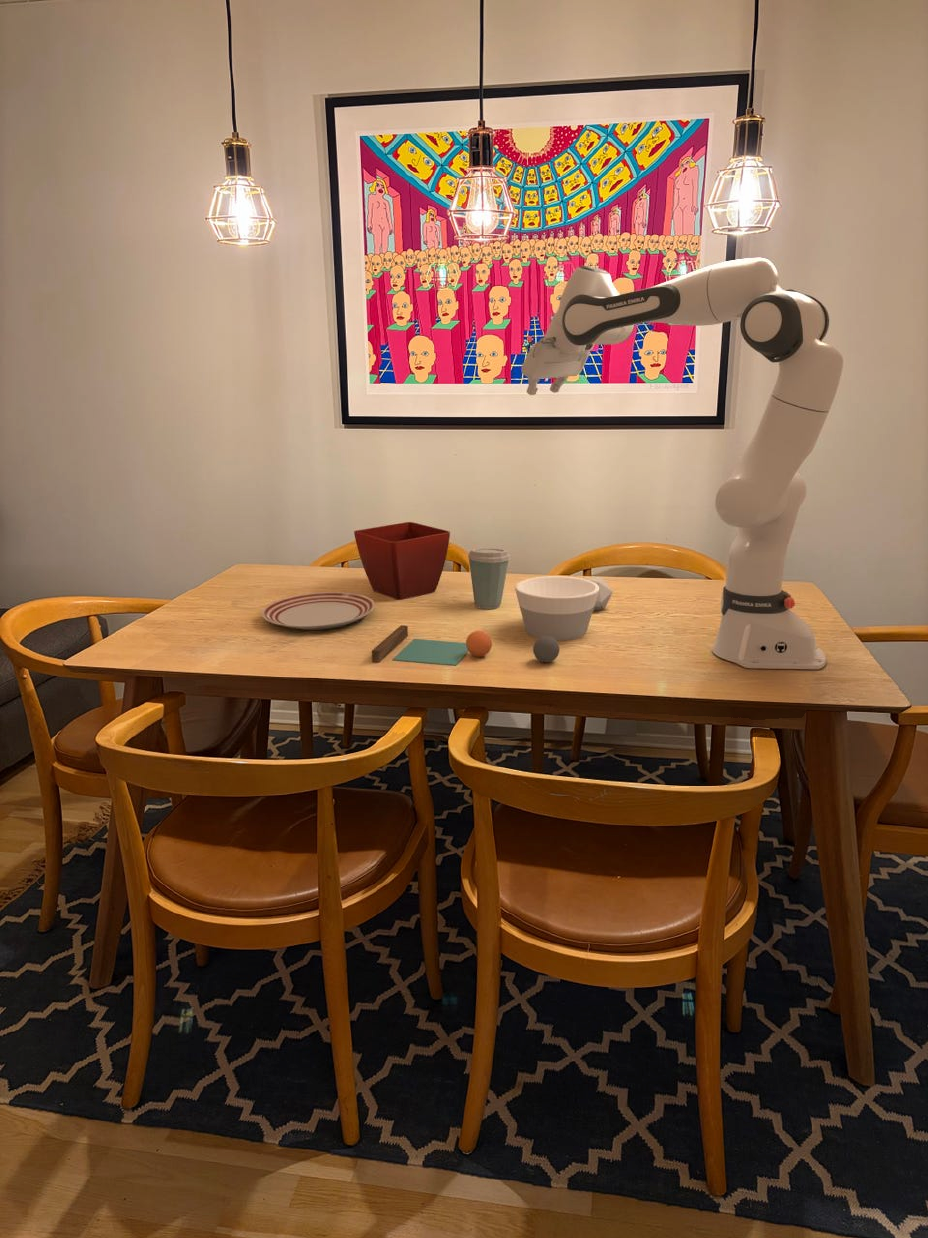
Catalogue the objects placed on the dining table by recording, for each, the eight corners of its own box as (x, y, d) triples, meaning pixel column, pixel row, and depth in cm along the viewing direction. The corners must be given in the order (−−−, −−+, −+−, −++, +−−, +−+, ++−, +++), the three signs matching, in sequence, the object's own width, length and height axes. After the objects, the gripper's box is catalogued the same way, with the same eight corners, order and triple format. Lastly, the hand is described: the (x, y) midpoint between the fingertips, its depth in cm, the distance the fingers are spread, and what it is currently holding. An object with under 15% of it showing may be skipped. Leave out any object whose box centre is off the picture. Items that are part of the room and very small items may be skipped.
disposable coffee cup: (466, 600, 220) (466, 544, 215) (507, 599, 220) (507, 543, 216) (469, 612, 210) (469, 553, 205) (512, 611, 210) (513, 552, 206)
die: (568, 610, 213) (577, 587, 205) (579, 587, 218) (588, 563, 210) (598, 623, 212) (609, 600, 204) (608, 600, 217) (619, 576, 209)
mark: (473, 644, 186) (473, 643, 186) (456, 665, 174) (456, 664, 174) (414, 639, 190) (414, 638, 190) (392, 660, 177) (392, 659, 177)
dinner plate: (309, 645, 188) (308, 630, 187) (240, 621, 206) (238, 608, 205) (398, 617, 207) (398, 604, 206) (328, 597, 225) (327, 585, 224)
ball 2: (561, 658, 177) (561, 633, 176) (556, 667, 172) (557, 641, 171) (535, 656, 179) (536, 631, 177) (530, 664, 174) (530, 639, 172)
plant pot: (394, 605, 216) (392, 541, 211) (355, 591, 231) (352, 530, 226) (453, 592, 228) (452, 531, 223) (411, 579, 242) (410, 521, 237)
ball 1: (494, 652, 181) (494, 628, 179) (488, 661, 176) (488, 636, 174) (469, 650, 182) (469, 626, 181) (463, 659, 177) (462, 634, 176)
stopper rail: (407, 636, 193) (407, 625, 192) (379, 662, 176) (378, 651, 175) (401, 635, 193) (400, 625, 192) (372, 661, 176) (371, 650, 176)
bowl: (596, 646, 184) (598, 599, 181) (509, 642, 188) (510, 596, 185) (598, 620, 203) (600, 577, 199) (519, 617, 206) (519, 574, 203)
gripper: (549, 344, 182) (525, 402, 190) (599, 343, 197) (575, 396, 205) (528, 331, 185) (506, 388, 193) (579, 330, 200) (556, 383, 208)
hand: (542, 392), depth 199 cm, fingers open, 8 cm apart
